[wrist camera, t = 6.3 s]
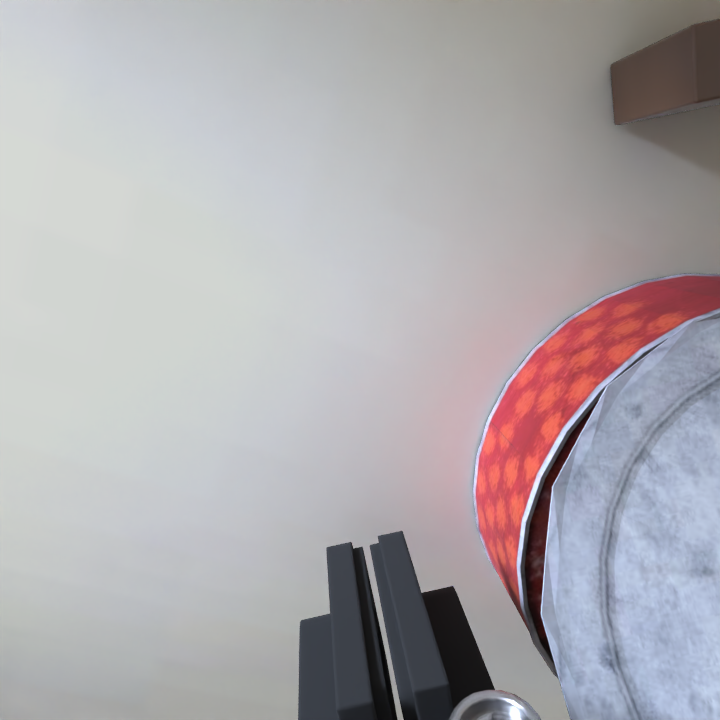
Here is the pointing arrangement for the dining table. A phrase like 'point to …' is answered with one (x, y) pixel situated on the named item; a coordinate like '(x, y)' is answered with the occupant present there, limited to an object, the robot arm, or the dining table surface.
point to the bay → (669, 75)
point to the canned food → (615, 501)
